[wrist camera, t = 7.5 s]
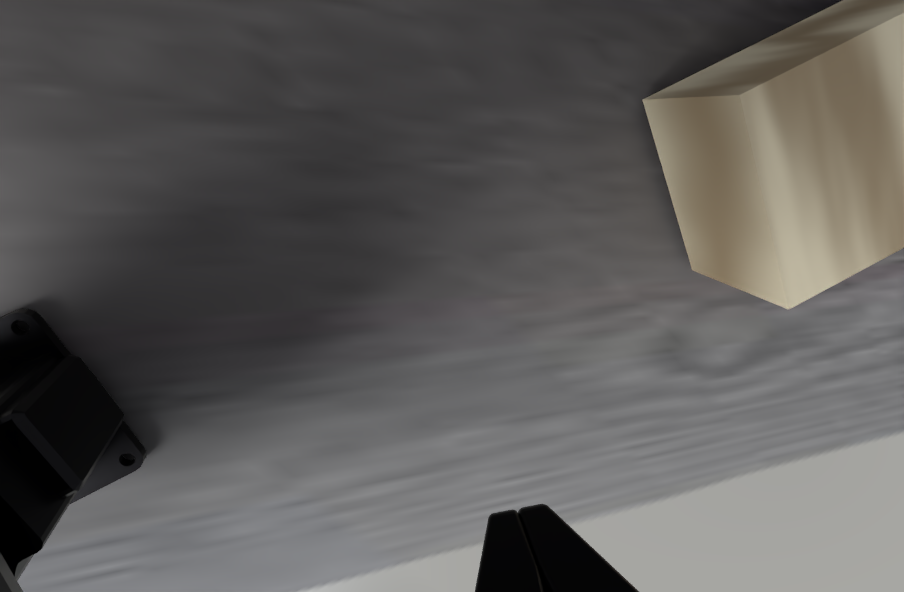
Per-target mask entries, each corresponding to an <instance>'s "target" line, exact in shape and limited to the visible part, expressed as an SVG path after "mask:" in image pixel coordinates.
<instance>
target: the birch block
mask: <svg viewBox="0 0 904 592" xmlns="http://www.w3.org/2000/svg"><path fill="white" fill-rule="evenodd" d="M643 104H644V107H645V110H646V114H647V117H648V121H649V124H650V128H651V131H652V134H653V138H654V141H655V145H656V148H657V151H658V155H659V158H660V162H661V165H662V169H663V172H664V175H665V179H666V182H667V186H668V189H669V192H670V196H671V199H672V203H673V206H674V210H675V213H676V216H677V220H678V223H679V227H680V230H681V233H682V237H683V240H684V244H685V247H686V251H687V254H688V257H689V261H690V264H691V268H692V270H693V271H695V272H698V273H700V274H703V275H705V276H708V277H710V278H713V279H715V280H718V281H720V282H722V283H725V284H727V285H730V286H732V287H735V288H737V289H740V290H742V291H744V292H747V293H749V294H752V295H754V296H757V297H759V298H762V299H764V300H767V301H769V302H771V303H774V304H776V305H779V306H781V307H784V308H786V309H791V308H793V307H794V306H796V305H798V304H800V303H802V302H804V301H806V300H807V299H809V298H811V297H813V296H815V295H817V294H819V293H820V292H822V291H824V290H826V289H828V288H830V287H832V286H834V285H835V284H837V283H839V282H841V281H843V280H845V279H847V278H848V277H850V276H852V275H854V274H856V273H858V272H860V271H861V270H863V269H865V268H867V267H869V266H871V265H873V264H874V263H876V262H878V261H880V260H882V259H884V258H886V257H887V256H889V255H891V254H893V253H895V252H897V251H899V250H900V249H902V248H904V0H842V1H840V2H838V3H836V4H834V5H832V6H830V7H828V8H826V9H824V10H822V11H820V12H818V13H816V14H814V15H812V16H810V17H808V18H806V19H804V20H802V21H800V22H798V23H796V24H794V25H792V26H790V27H788V28H786V29H784V30H782V31H780V32H778V33H776V34H774V35H772V36H770V37H768V38H766V39H764V40H762V41H760V42H758V43H756V44H754V45H752V46H750V47H748V48H746V49H744V50H742V51H739V52H737V53H735V54H733V55H731V56H729V57H727V58H725V59H723V60H721V61H719V62H717V63H715V64H713V65H711V66H709V67H707V68H705V69H703V70H701V71H699V72H697V73H695V74H693V75H691V76H689V77H687V78H685V79H683V80H681V81H679V82H677V83H675V84H673V85H671V86H669V87H667V88H665V89H663V90H661V91H659V92H657V93H655V94H653V95H651V96H649V97H647V98H645V99H643Z"/></svg>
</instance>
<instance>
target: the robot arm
mask: <svg viewBox="0 0 904 592" xmlns="http://www.w3.org/2000/svg"><path fill="white" fill-rule="evenodd" d="M17 320H22V321H25V322H26V323H28V325H29V327H30V330H29V331H24V330H21V329H20V328H19V327H18V325H17ZM123 416H124V414H123V412H122V411H121V409H120V408H119V407H118V406H117V404H116V403H115V402H114V400H113V399H112V398H111V397H110V395H109V394H108V393H107V392H106V390H105V389H104V388H103V386H102V385H101V384H100V383H99V381H98V380H97V379H96V377H95V376H94V375H93V374H92V372H91V371H90V370H89V369H88V367H87V366H86V365H85V363H84V362H83V361H82V360H81V358H79V357H76V356H73V355H71V354H70V352H69V351H68V350H67V349H66V347H65V346H64V345H63V343H62V342H61V341H60V340H59V338H58V337H57V336H56V335H55V333H54V332H53V331H52V330H51V328H50V327H49V326H48V324H47V323H46V322H45V321H44V319H43V318H42V317H41V316H40V315H39V314H38V313H37V312H35V311H33V310H30V309H19V310H15V311H13V312H11V313H9V314H7V315H5V316H3V317H1V318H0V592H23V591H22V589H21V587H20V586H19V584H18V582H17V580H18V579H19V577H20V576H21V574H22V573H23V571H24V569H25V568H26V566H27V565H28V563H29V561H30V560H31V558H32V557H33V555H34V554H35V553H37V552H38V551H40V550H41V549H42V547H43V546H44V544H45V543H46V541H47V539H48V538H49V536H50V535H51V533H52V531H53V530H54V528H55V526H56V525H57V523H58V522H59V520H60V518H61V517H62V515H63V514H64V512H65V510H66V509H67V507H68V506H69V504H71V503H73V502H75V501H77V500H79V499H81V498H83V497H85V496H87V495H89V494H91V493H93V492H95V491H97V490H99V489H100V488H102V487H104V486H106V485H108V484H110V483H112V482H114V481H116V480H118V479H120V478H122V477H124V476H126V475H128V474H130V473H132V472H134V471H136V470H137V469H138V468H140V467H141V465H142V463H143V461H144V459H145V457H146V450H145V448H144V446H143V445H142V444H141V443H140V441H139V440H138V439H137V437H136V436H135V435H134V434H133V432H132V431H131V430H130V429H129V427H128V426H127V425H126V424H125V422H124V421H123ZM125 453H129V454H132V455H133V456H134V457H135V459H133V460H128V459H126V458H124V457H123V454H125ZM475 592H639V591H638V590H637V589H635V587H633V586H632V585H631V584H630V583H629V582H628V581H627V580H626V579H625V578H624V577H623V576H622V575H621V574H620V573H619V572H617V571H616V570H615V569H614V568H613V567H612V566H611V565H610V564H609V563H608V562H607V561H605V559H604V558H603V557H601V556H600V555H599V554H598V553H597V552H596V551H595V550H594V549H593V548H592V547H591V546H590V545H589V544H588V543H587V542H586V541H584V540H583V539H582V538H581V537H580V536H579V535H578V534H577V533H576V532H575V531H574V530H573V529H572V528H571V527H570V526H569V525H567V524H566V523H565V522H564V521H563V520H562V519H561V518H560V517H559V516H558V515H557V514H556V513H555V512H554V511H553V510H552V509H550V508H549V507H548V506H547V505H545V504H538V505H533V506H528V507H523V508H521V509H520V510H519V511H518V513H517V511H516V510H508V511H503V512H498V513H493V514H491V515H490V516H489V519H488V524H487V529H486V534H485V540H484V545H483V551H482V556H481V561H480V567H479V573H478V578H477V583H476V589H475Z"/></svg>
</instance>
